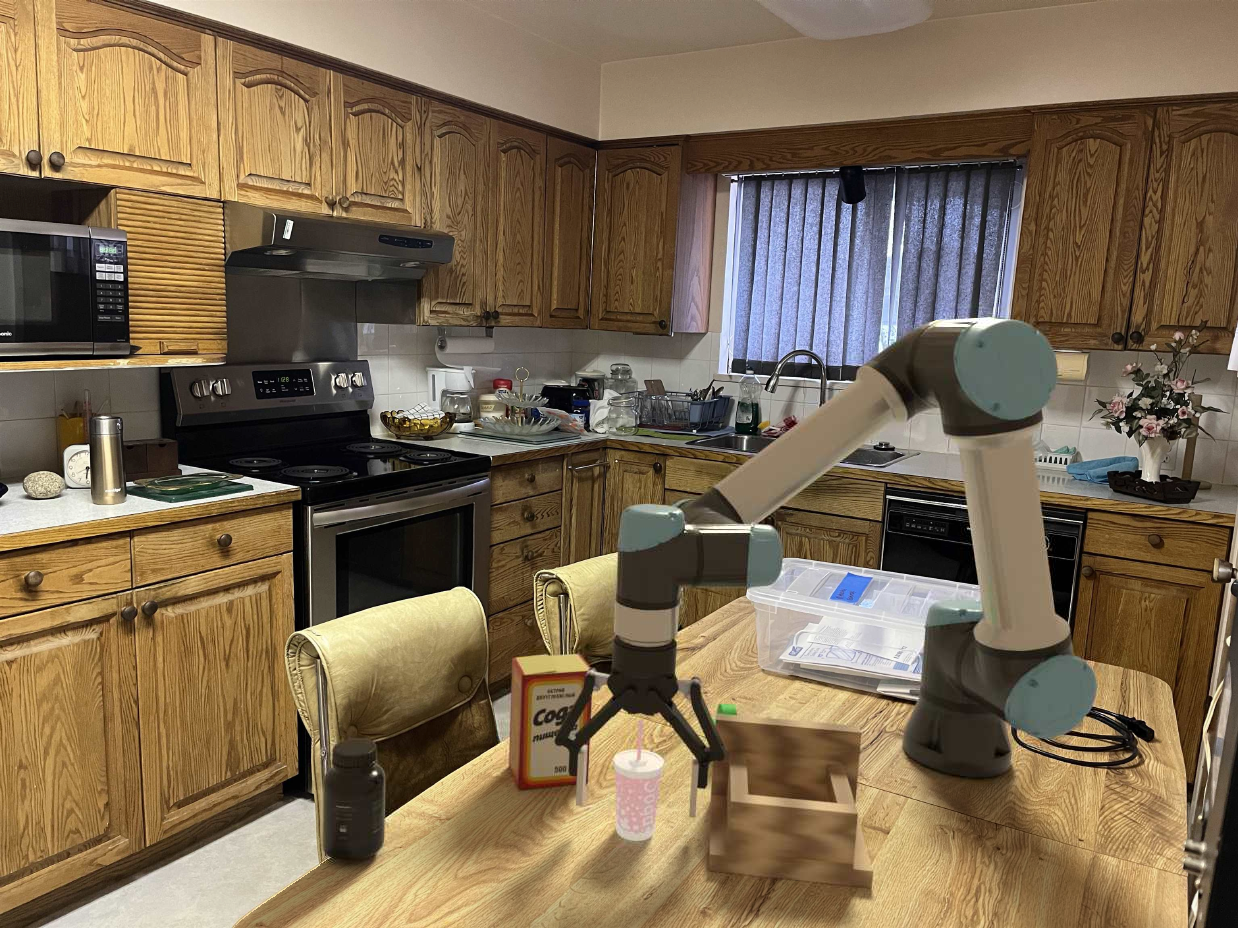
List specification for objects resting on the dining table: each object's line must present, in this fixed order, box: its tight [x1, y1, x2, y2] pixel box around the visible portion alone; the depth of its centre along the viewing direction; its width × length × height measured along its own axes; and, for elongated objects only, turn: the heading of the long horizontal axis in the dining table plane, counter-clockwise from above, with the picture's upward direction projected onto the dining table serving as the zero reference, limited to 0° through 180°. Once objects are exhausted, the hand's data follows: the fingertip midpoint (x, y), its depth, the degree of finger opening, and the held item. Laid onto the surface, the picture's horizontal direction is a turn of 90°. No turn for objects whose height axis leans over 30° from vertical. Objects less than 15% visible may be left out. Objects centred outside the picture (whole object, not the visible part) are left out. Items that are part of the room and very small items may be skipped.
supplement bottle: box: [321, 737, 386, 863], centre depth 104 cm, size 7×7×12 cm
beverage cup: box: [612, 719, 665, 842], centre depth 111 cm, size 6×6×14 cm
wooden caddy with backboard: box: [708, 712, 874, 889], centre depth 110 cm, size 18×16×12 cm
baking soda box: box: [508, 653, 593, 791], centre depth 124 cm, size 10×6×16 cm
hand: (636, 806), depth 111 cm, fingers open, 13 cm apart
